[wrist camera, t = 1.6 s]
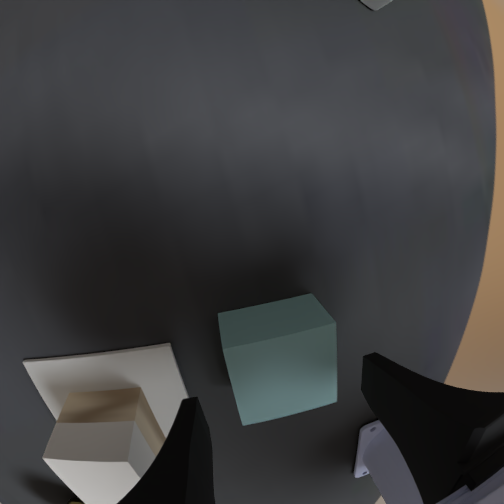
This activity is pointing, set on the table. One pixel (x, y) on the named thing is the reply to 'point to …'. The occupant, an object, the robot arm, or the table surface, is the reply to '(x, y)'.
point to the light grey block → (99, 458)
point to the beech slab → (114, 411)
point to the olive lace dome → (75, 501)
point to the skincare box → (375, 3)
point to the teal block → (280, 357)
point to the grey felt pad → (114, 378)
